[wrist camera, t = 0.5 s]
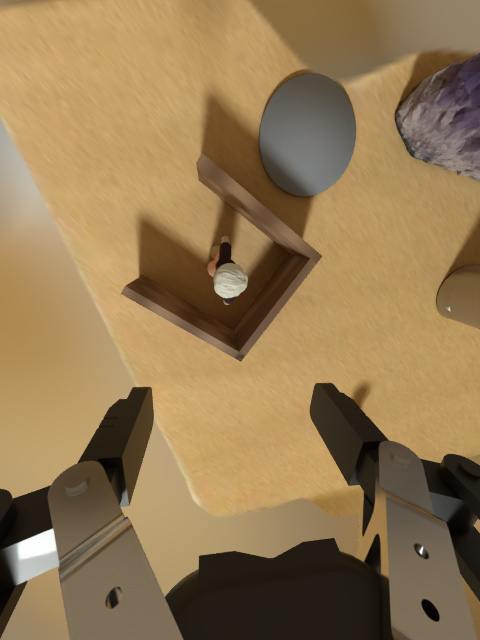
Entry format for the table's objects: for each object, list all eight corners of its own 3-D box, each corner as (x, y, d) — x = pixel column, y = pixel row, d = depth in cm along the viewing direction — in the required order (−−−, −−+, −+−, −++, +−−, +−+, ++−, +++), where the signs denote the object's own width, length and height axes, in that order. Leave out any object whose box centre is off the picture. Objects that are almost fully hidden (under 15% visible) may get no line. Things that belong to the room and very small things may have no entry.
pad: (358, 76, 26) (361, 73, 26) (348, 193, 30) (350, 193, 30) (256, 77, 25) (257, 73, 24) (260, 199, 29) (262, 198, 29)
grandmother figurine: (199, 241, 30) (195, 244, 18) (228, 234, 30) (241, 233, 18) (214, 295, 33) (218, 329, 21) (240, 289, 33) (258, 319, 21)
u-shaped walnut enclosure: (299, 252, 32) (322, 256, 26) (234, 338, 36) (240, 361, 29) (203, 172, 27) (202, 152, 21) (139, 281, 31) (120, 293, 24)
